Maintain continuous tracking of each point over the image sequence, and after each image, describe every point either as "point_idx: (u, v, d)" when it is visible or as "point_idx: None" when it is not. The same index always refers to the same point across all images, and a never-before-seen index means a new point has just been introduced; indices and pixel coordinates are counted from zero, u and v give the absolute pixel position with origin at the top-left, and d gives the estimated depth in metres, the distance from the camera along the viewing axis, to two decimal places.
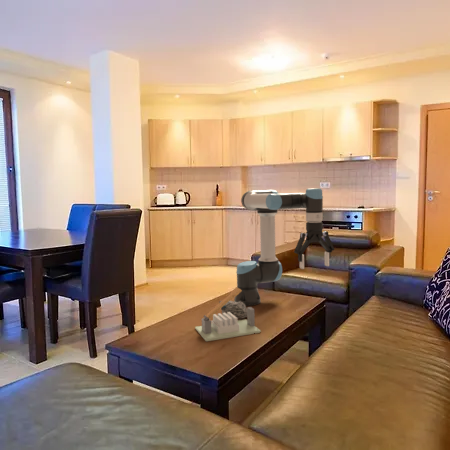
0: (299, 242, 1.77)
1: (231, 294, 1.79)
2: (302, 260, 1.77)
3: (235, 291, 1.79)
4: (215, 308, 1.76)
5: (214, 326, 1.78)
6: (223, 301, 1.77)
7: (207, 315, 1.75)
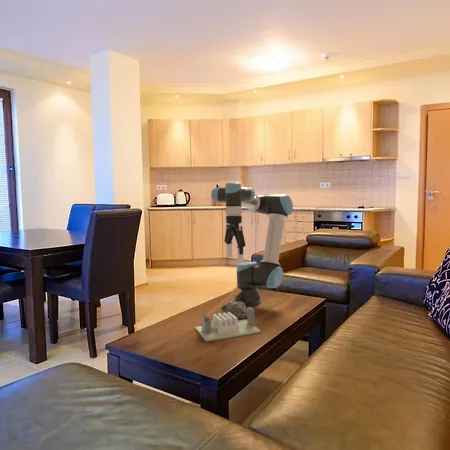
0: None
1: (231, 294, 1.79)
2: None
3: (235, 291, 1.79)
4: (215, 308, 1.76)
5: (214, 326, 1.78)
6: (223, 301, 1.77)
7: (207, 315, 1.75)
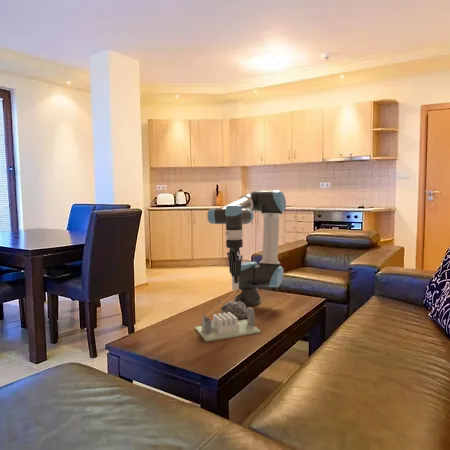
0: None
1: (231, 294, 1.79)
2: None
3: (235, 292, 1.79)
4: (215, 308, 1.76)
5: (214, 326, 1.78)
6: (223, 301, 1.77)
7: (207, 315, 1.75)
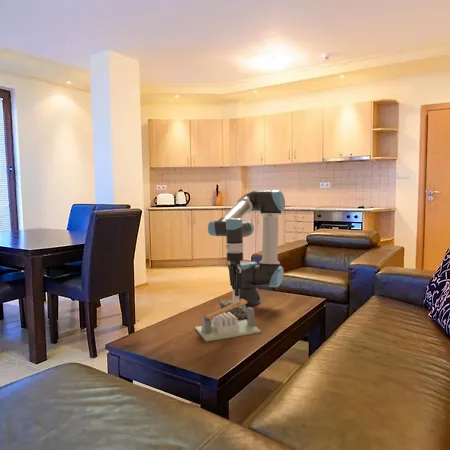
0: None
1: (236, 303, 1.80)
2: None
3: (241, 301, 1.80)
4: (217, 311, 1.77)
5: (214, 326, 1.78)
6: (227, 307, 1.78)
7: (208, 315, 1.75)
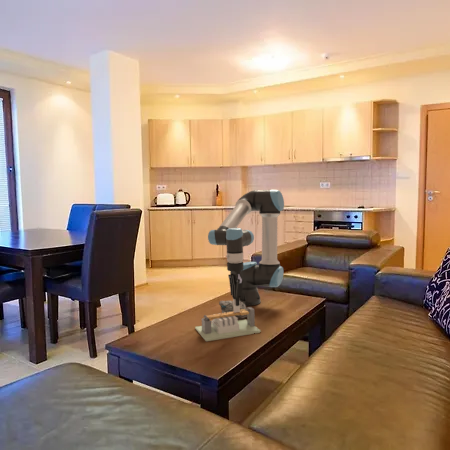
0: None
1: None
2: None
3: (242, 311, 1.81)
4: (218, 314, 1.77)
5: (214, 326, 1.78)
6: (228, 313, 1.79)
7: (208, 316, 1.75)
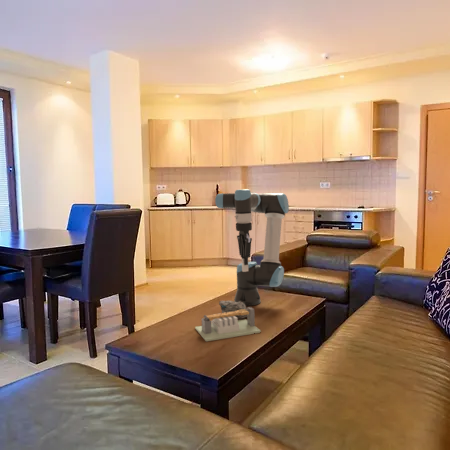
0: None
1: (238, 311, 1.80)
2: None
3: (242, 311, 1.81)
4: (218, 314, 1.77)
5: (214, 326, 1.78)
6: (228, 313, 1.79)
7: (208, 316, 1.75)
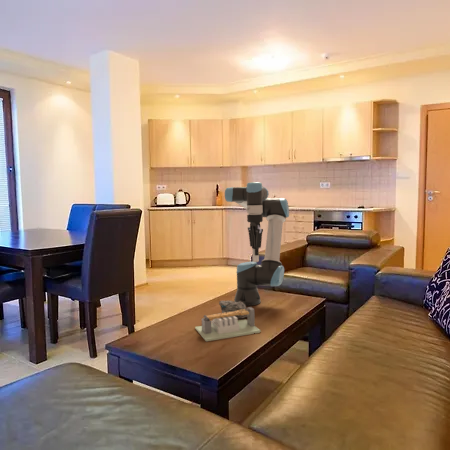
0: None
1: (238, 311, 1.80)
2: None
3: (242, 311, 1.81)
4: (218, 314, 1.77)
5: (214, 326, 1.78)
6: (228, 313, 1.79)
7: (208, 316, 1.75)
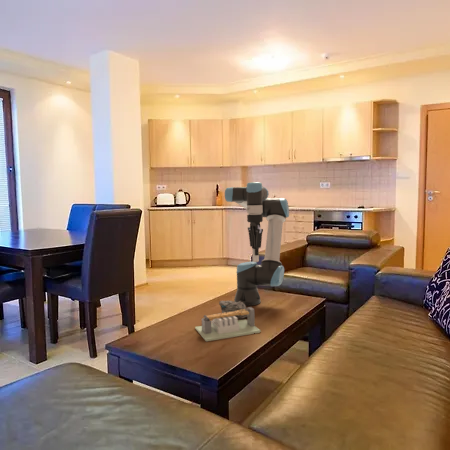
0: None
1: (238, 311, 1.80)
2: None
3: (242, 311, 1.81)
4: (218, 314, 1.77)
5: (214, 326, 1.78)
6: (228, 313, 1.79)
7: (208, 316, 1.75)
